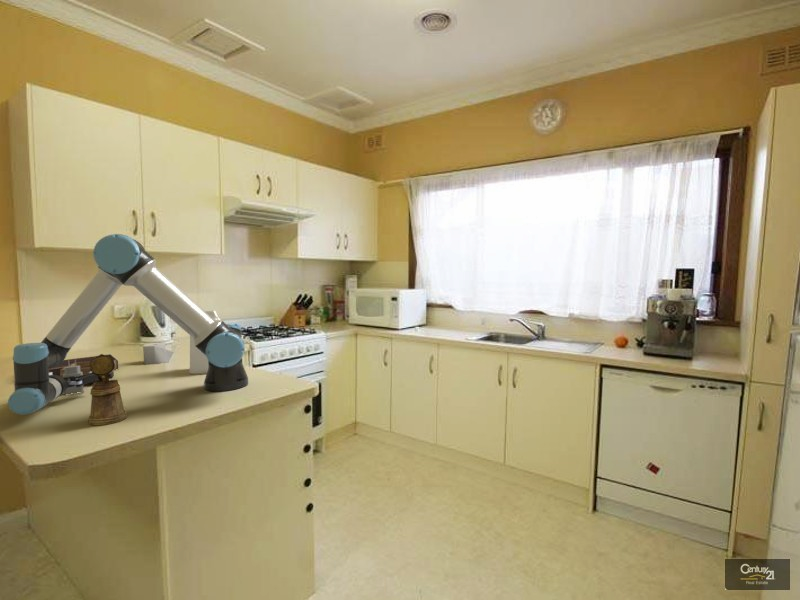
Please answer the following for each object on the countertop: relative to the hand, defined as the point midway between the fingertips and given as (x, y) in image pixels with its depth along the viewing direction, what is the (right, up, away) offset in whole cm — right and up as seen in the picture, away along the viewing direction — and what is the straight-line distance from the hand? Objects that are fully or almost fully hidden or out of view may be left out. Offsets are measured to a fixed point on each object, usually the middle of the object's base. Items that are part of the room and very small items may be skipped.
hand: (74, 374), depth 150 cm
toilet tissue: (+1, -3, +50) cm, 50 cm away
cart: (-4, -6, +14) cm, 15 cm away
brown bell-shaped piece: (+32, -8, -28) cm, 44 cm away
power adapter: (+1, -7, -1) cm, 7 cm away
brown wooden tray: (-25, -6, +32) cm, 41 cm away
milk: (+35, -4, +31) cm, 47 cm away
